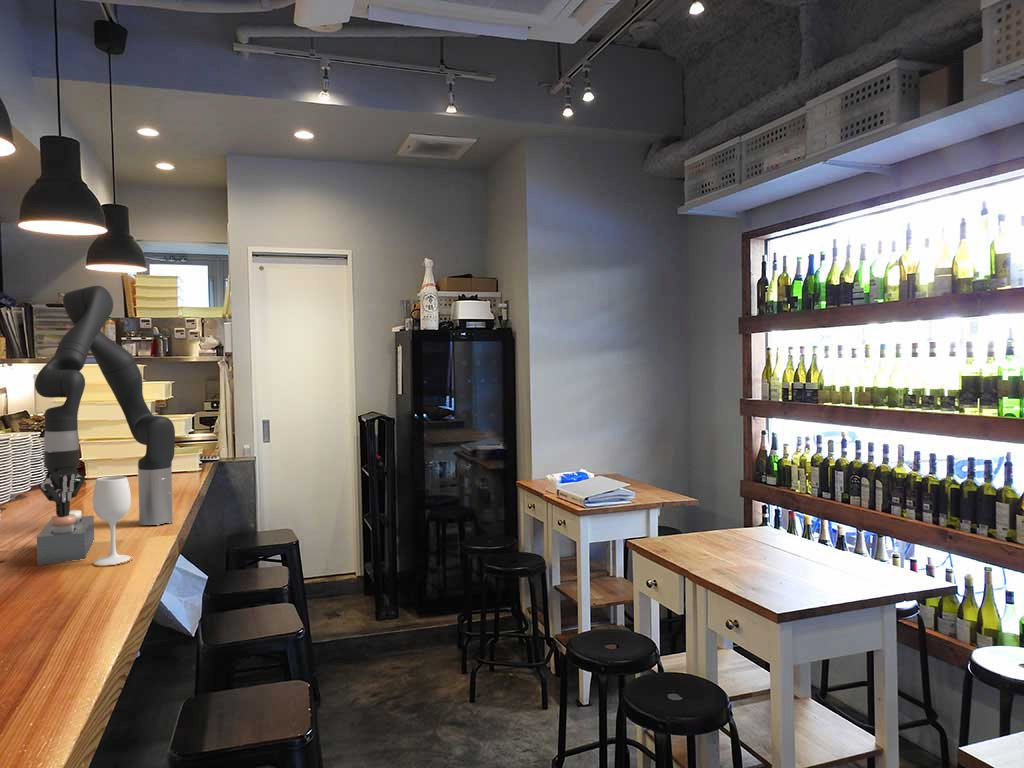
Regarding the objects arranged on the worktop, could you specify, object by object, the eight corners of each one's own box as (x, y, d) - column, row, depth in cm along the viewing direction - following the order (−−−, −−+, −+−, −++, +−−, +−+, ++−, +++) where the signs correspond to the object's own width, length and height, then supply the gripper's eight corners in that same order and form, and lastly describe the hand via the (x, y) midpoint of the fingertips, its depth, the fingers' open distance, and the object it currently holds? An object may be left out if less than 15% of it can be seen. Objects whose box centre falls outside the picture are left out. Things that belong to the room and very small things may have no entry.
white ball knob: (83, 534, 193) (82, 509, 192) (80, 539, 188) (80, 513, 188) (60, 536, 190) (60, 511, 190) (57, 541, 186) (57, 514, 186)
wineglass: (124, 555, 181) (122, 474, 180) (139, 561, 176) (137, 477, 175) (87, 562, 174) (85, 478, 174) (101, 569, 169) (99, 482, 168)
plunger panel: (94, 540, 196) (93, 515, 196) (84, 560, 176) (84, 532, 176) (51, 544, 192) (51, 519, 191) (37, 565, 172) (36, 537, 172)
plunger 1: (77, 540, 182) (76, 513, 182) (74, 544, 177) (74, 517, 177) (53, 542, 180) (53, 515, 179) (50, 547, 175) (49, 519, 175)
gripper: (69, 445, 185) (70, 510, 185) (26, 451, 172) (28, 521, 172) (94, 445, 184) (95, 511, 184) (53, 452, 171) (54, 522, 171)
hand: (63, 516), depth 178 cm, fingers closed
